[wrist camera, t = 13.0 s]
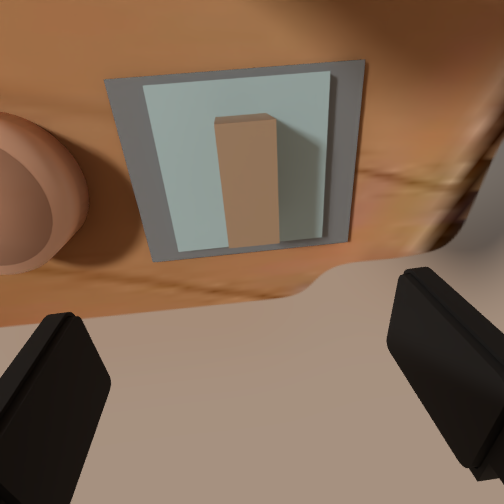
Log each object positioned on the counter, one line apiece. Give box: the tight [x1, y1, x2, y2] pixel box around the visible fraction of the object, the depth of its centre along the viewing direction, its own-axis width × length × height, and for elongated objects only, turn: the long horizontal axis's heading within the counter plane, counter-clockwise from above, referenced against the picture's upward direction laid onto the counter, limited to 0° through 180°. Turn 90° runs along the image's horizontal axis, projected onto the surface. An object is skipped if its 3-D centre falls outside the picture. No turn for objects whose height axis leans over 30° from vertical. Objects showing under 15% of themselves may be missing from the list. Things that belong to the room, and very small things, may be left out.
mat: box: [104, 59, 365, 262], centre depth 27 cm, size 20×16×1 cm
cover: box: [143, 71, 330, 252], centre depth 24 cm, size 14×14×6 cm
